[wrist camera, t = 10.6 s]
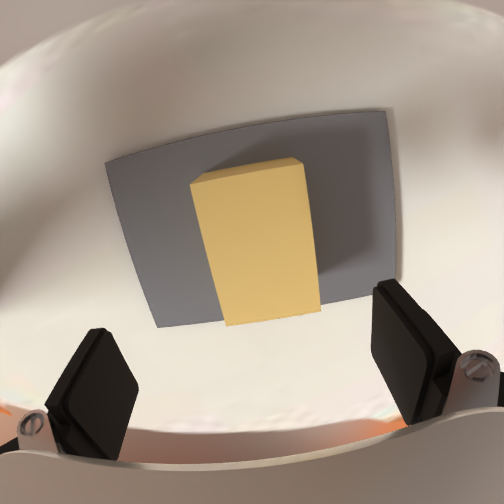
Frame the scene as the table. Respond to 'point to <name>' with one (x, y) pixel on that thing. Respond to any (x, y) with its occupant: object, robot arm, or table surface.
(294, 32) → the table surface
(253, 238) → the box
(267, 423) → the table surface
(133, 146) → the table surface
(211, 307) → the mat
